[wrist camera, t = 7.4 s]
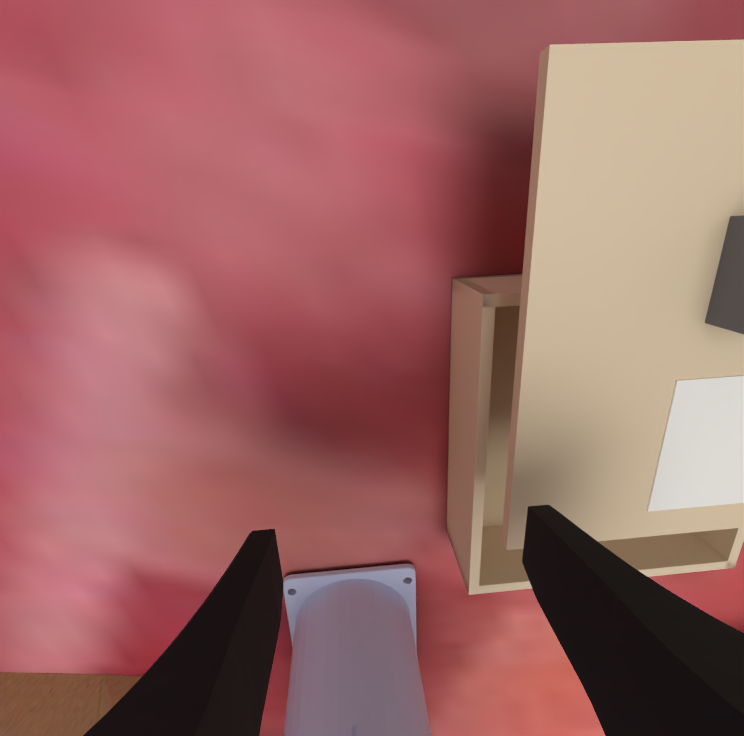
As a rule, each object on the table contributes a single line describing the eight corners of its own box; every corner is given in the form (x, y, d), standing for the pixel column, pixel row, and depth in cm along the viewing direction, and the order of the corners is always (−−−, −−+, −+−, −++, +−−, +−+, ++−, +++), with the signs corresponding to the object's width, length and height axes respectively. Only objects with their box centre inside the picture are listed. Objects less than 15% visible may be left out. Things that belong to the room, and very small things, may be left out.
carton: (669, 509, 26) (734, 567, 21) (446, 530, 25) (468, 594, 21) (731, 261, 20) (833, 273, 16) (451, 277, 20) (483, 294, 15)
